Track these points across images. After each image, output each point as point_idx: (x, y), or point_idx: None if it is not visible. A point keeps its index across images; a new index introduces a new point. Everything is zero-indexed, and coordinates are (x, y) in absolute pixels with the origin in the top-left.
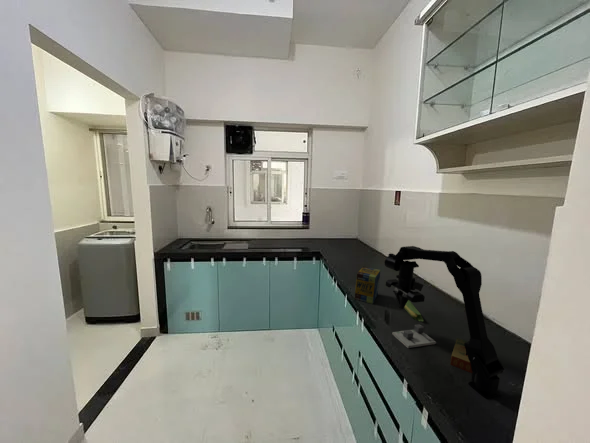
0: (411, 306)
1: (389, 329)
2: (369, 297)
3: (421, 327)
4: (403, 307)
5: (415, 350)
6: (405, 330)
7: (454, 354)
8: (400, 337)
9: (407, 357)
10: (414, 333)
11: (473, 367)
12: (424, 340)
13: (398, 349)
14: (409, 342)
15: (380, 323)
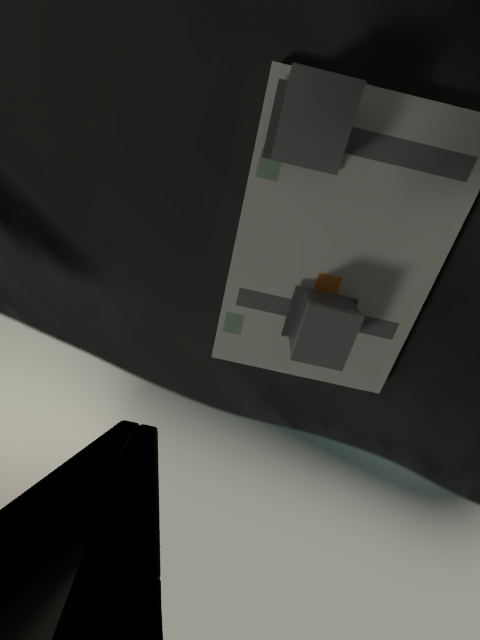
0: None
1: (154, 316)
2: None
3: (352, 124)
4: (155, 452)
5: (419, 360)
6: (298, 349)
7: None
8: (286, 360)
9: (421, 448)
10: (305, 201)
11: None
12: (424, 217)
13: (347, 435)
14: (362, 355)
15: (62, 312)
